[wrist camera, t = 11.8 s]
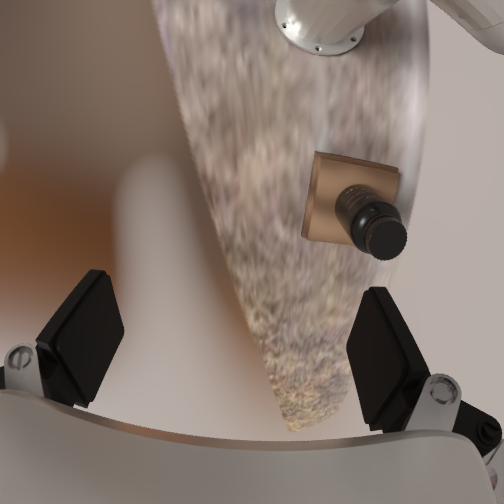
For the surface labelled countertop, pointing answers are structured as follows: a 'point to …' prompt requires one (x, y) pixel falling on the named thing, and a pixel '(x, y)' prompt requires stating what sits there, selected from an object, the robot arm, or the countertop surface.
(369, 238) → the supplement bottle
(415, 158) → the countertop surface
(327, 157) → the walnut pedestal
